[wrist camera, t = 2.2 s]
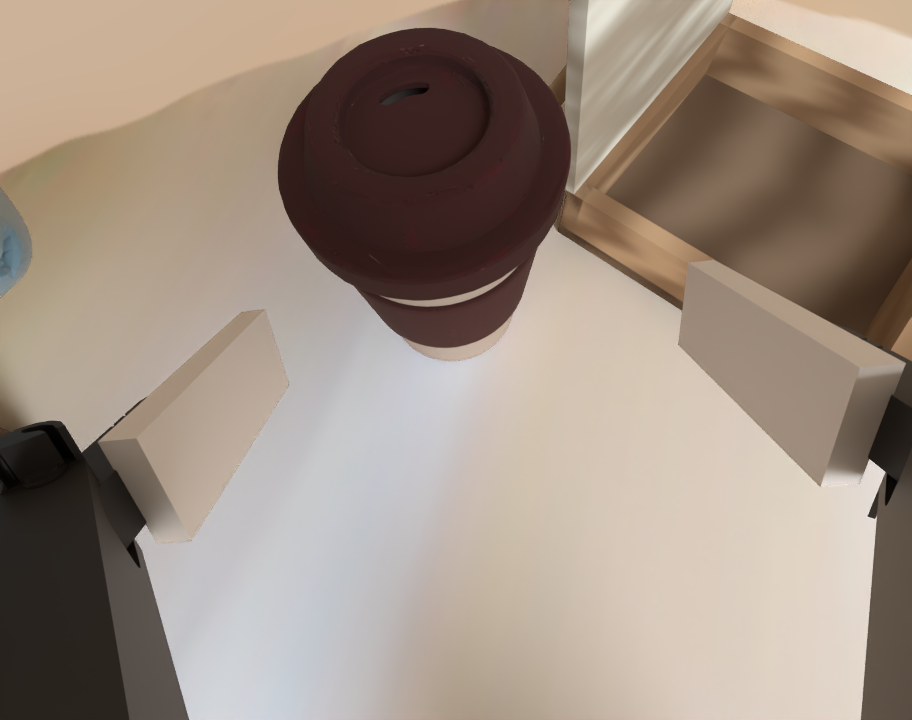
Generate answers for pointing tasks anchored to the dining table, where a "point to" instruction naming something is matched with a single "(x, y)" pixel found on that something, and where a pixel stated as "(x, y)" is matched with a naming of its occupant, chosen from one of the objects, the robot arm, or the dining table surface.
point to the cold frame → (737, 161)
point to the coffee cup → (428, 182)
